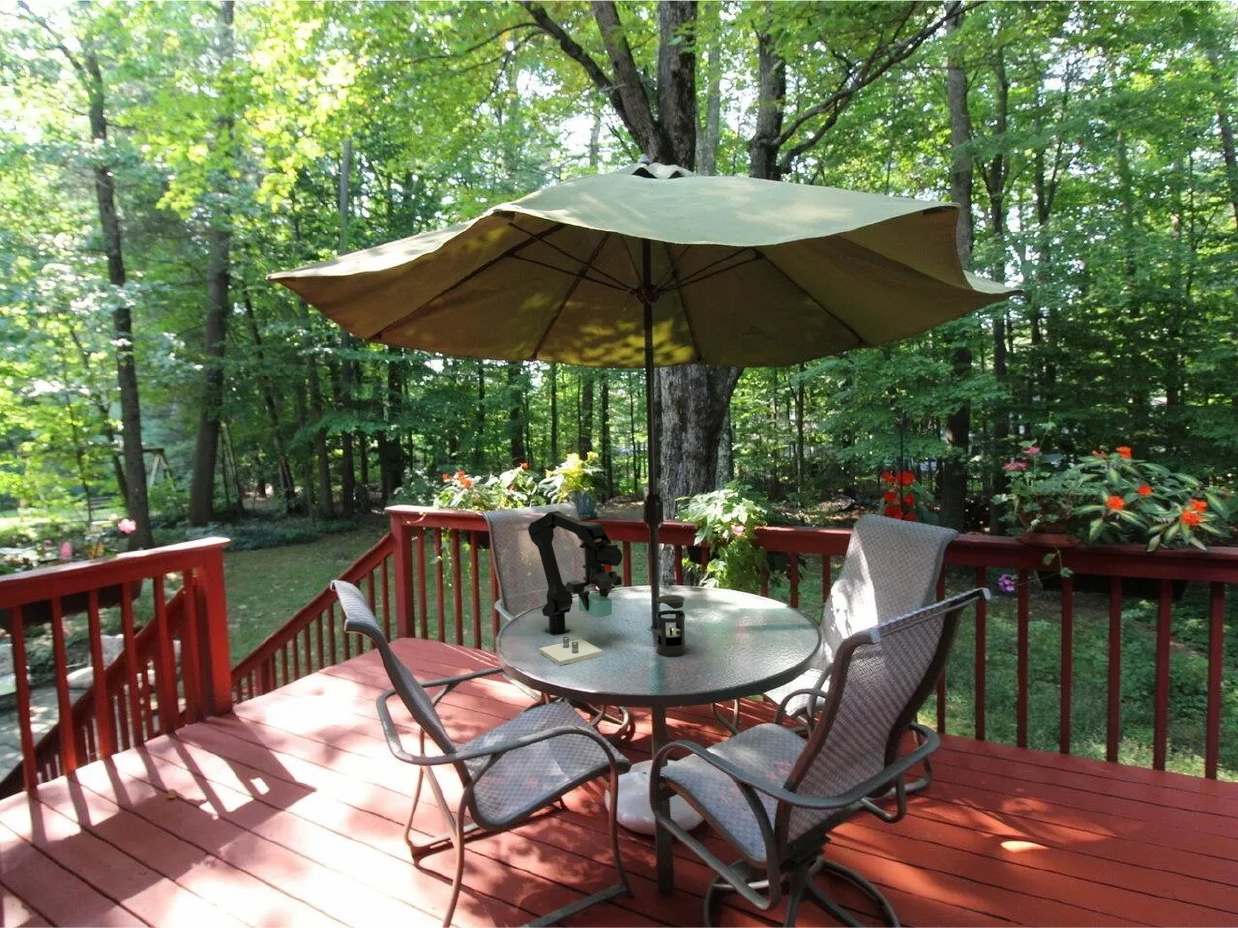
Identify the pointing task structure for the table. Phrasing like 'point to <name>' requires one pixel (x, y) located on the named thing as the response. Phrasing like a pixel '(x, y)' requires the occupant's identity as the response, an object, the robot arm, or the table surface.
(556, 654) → the base plate
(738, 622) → the table surface
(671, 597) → the french press
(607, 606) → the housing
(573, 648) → the stubs
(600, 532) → the robot arm
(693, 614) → the table surface
